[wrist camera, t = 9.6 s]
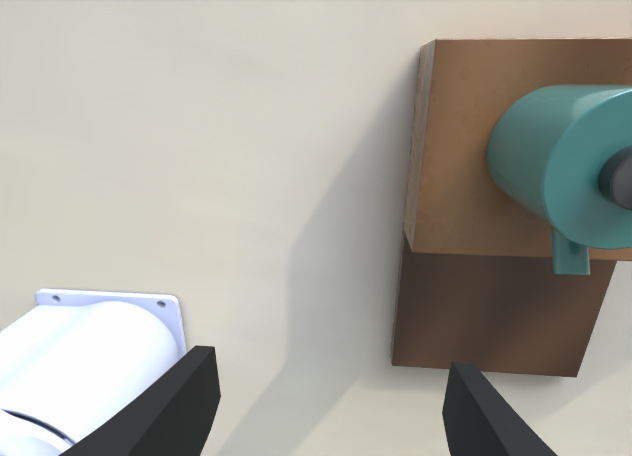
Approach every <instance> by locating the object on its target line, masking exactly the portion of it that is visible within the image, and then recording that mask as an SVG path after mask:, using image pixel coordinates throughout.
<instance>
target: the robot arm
mask: <svg viewBox="0 0 632 456" xmlns="http://www.w3.org/2000/svg"><path fill="white" fill-rule="evenodd" d="M58 297H59V298H58ZM35 299H36V302H37V305H38V306H36V307H35V308H34V309H32V310H31V311H29V312H28V313H27V314H25V315H24V316H22V317H21V318H20V319H18V320H17V321H15V322H14V323H13V324H11V325H10V326H8V327H7V328H6V329H4V330H3V331H1V332H0V456H200V454H201V452H202V449H203V447H204V445H205V442H206V440H207V438H208V435H209V433H210V430H211V427H212V424H213V421H214V418H215V415H216V411H217V408H218V404H219V401H220V397H221V394H220V386H219V378H218V371H217V363H216V355H215V347H211V346H195V347H193V348H192V349H191V350H190V351H189V352H188V353H187V349H186V343H185V336H184V330H183V324H182V318H181V312H180V306H179V301H178V299H177V298H176V297H174V296H171V295H156V294H136V293H117V292H98V291H78V290H59V289H41V290H39V291H38V292H36V293H35ZM160 301H162V302H164V303H165V305H164V304H162V303H161V302H160ZM442 415H443V420H444V426H445V431H446V437H447V442H448V447H449V451H450V454H451V456H557V455H556V454H555V453H554V452H553V451H552V450H551V449H550V448H549V447H548V446H547V445H546V444H545V443H544V442H543V441H542V440H541V439H540V438H539V437H538V435H537V434H536V433H535V432H534V431H533V430H532V429H531V428H530V427H529V426H528V425H527V424H526V423H525V422H524V421H523V419H522V418H521V417H520V416H519V415H518V414H517V413H516V412H515V411H514V410H513V409H512V407H511V406H510V405H509V404H508V403H507V402H506V401H505V400H504V398H503V397H502V396H501V395H500V394H499V393H498V392H497V390H496V389H495V388H494V387H493V386H492V385H491V383H490V382H489V381H488V380H487V379H486V378H485V377H484V375H483V374H482V373H481V372H480V371H479V370H478V368H477V367H476V366H475V365H474V364H473V363H466V362H451V366H450V372H449V377H448V383H447V389H446V394H445V400H444V405H443V411H442Z"/></svg>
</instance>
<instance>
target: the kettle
mask: <svg viewBox="0 0 632 456" xmlns="http://www.w3.org/2000/svg"><path fill="white" fill-rule="evenodd" d="M487 164H488V169H489V172H490V175H491V177H492V179H493V181H494V183H495V184H496V185H497V187H498V188H499V189H500V190H501V191H502V192H503V193H505V194H506V195H507V196H509V197H510V198H512V199H513V200H514V201H516V202H517V203H518V204H520V205H521V206H523V207H524V208H525V209H527V210H528V211H530V212H531V213H532V214H534V215H535V216H537V217H538V218H539V219H541V220H542V221H543V222H545V223H546V224H548V225H549V226H550V227H551V248H552V270H553V274H555V275H590V266H589V249H588V247H590V248H594V249H604V250H613V249H624V248H631V247H632V85H587V84H561V85H552V86H546V87H543V88H540V89H537V90H535V91H533V92H531V93H529V94H527V95H525V96H523V97H522V98H520V99H519V100H518V101H516V102H515V103H514V104H513V105H512V106H511V107H509V108H508V109H507V110H506V112H505V113H504V114H503V115H502V116H501V118H500V119H499V121H498V122H497V124H496V126H495V127H494V129H493V131H492V134H491V137H490V139H489V143H488V149H487Z"/></svg>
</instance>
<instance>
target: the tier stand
mask: <svg viewBox="0 0 632 456" xmlns="http://www.w3.org/2000/svg"><path fill="white" fill-rule="evenodd" d="M561 84H587V85H632V37H620V38H478V39H435V40H433V41H431V42H429V43H427V44H426V45H424V46H422V47H421V51H420V61H419V71H418V81H417V92H416V102H415V112H414V122H413V132H412V142H411V152H410V163H409V173H408V183H407V193H406V203H405V213H404V223H403V228H404V229H403V235H402V245H401V255H400V265H399V275H398V285H397V295H396V306H395V316H394V326H393V336H392V346H391V356H390V358H391V364H392V365H393V366H407V367H422V368H438V369H450V366H451V362H466V363H473V364H474V365H475V366H476V367H477V368H478V370H479V371H484V372H500V373H515V374H531V375H546V376H562V377H577V374H578V371H579V369H580V366H581V363H582V360H583V357H584V354H585V351H586V348H587V346H588V343H589V340H590V337H591V334H592V331H593V328H594V325H595V323H596V320H597V317H598V314H599V311H600V308H601V305H602V302H603V300H604V297H605V294H606V291H607V288H608V285H609V282H610V279H611V276H612V274H613V271H614V268H615V265H616V262H617V260H618V261H632V247H631V248H624V249H613V250H604V249H594V248H590V247H588V249H589V266H590V275H555V274H553V270H552V248H551V227H550V226H549V225H548V224H546V223H545V222H543V221H542V220H541V219H539V218H538V217H537V216H535V215H534V214H532V213H531V212H530V211H528V210H527V209H525V208H524V207H523V206H521V205H520V204H518V203H517V202H516V201H514V200H513V199H512V198H510V197H509V196H507V195H506V194H505V193H503V192H502V191H501V190H500V189H499V188H498V187H497V185H496V184H495V183H494V181H493V179H492V177H491V175H490V172H489V169H488V164H487V149H488V143H489V139H490V137H491V134H492V131H493V129H494V127H495V126H496V124H497V122H498V121H499V119H500V118H501V116H502V115H503V114H504V113H505V112H506V110H507V109H508V108H509V107H511V106H512V105H513V104H514V103H515V102H516V101H518V100H519V99H520V98H522V97H523V96H525V95H527V94H529V93H531V92H533V91H535V90H537V89H540V88H543V87H546V86H552V85H561Z"/></svg>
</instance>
